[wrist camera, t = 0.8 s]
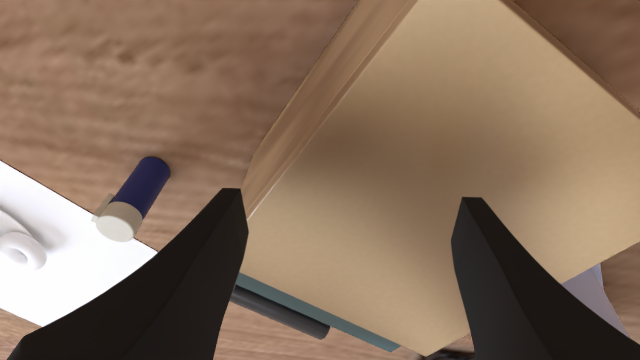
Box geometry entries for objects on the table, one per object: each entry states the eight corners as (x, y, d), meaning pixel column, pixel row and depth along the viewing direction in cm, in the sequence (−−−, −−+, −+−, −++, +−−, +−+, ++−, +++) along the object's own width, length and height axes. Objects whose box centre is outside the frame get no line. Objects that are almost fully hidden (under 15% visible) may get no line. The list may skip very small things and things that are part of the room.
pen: (164, 186, 27) (127, 247, 23) (131, 169, 26) (86, 229, 22) (175, 166, 26) (138, 227, 22) (140, 148, 25) (95, 208, 21)
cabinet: (411, 239, 28) (426, 357, 22) (254, 151, 25) (213, 261, 18) (607, 82, 20) (728, 194, 13) (415, -84, 16) (450, -42, 10)
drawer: (346, 292, 31) (342, 380, 26) (213, 229, 28) (179, 315, 23) (548, 131, 21) (610, 223, 16) (377, 1, 18) (383, 63, 13)
